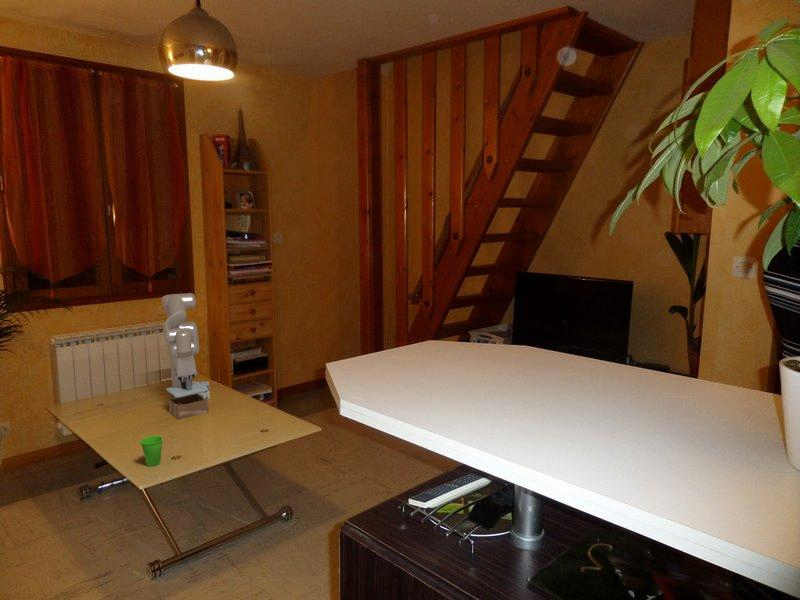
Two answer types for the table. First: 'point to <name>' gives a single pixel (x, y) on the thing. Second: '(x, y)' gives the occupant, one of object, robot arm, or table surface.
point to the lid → (187, 389)
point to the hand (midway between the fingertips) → (186, 387)
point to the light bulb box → (205, 393)
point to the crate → (188, 406)
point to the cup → (152, 449)
